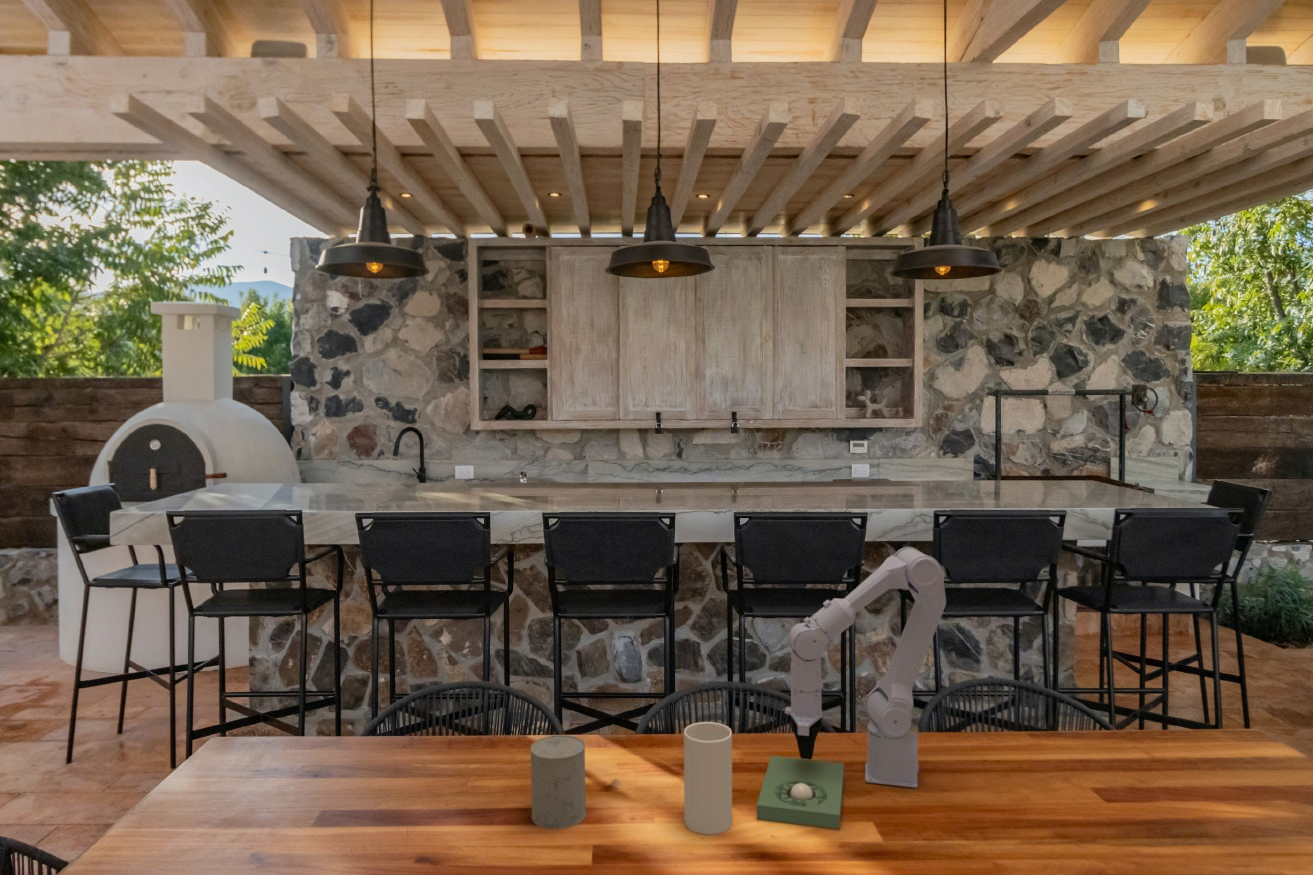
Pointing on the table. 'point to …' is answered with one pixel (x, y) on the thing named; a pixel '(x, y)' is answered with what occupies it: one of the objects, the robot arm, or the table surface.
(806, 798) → the ball
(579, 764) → the grey marble cylinder
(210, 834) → the table surface
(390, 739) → the table surface
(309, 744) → the table surface
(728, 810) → the cup
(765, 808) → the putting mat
